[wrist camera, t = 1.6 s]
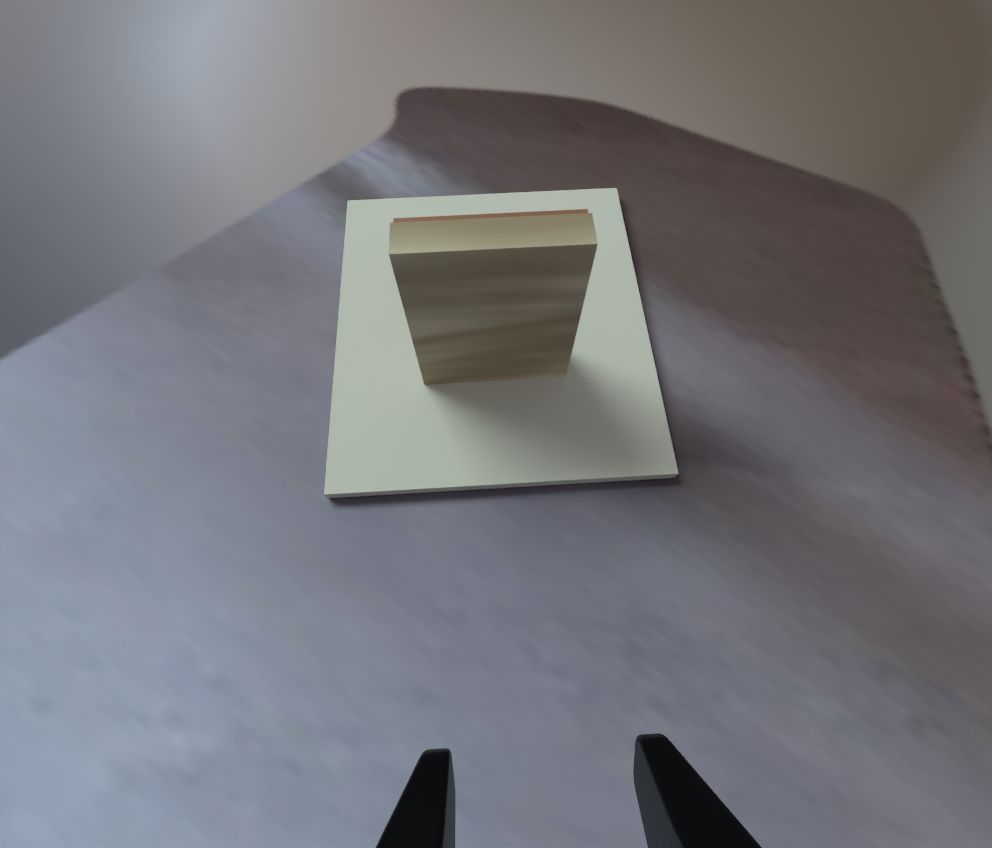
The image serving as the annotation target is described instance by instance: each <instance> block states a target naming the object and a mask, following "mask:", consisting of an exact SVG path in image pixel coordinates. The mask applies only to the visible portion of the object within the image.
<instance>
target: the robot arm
mask: <svg viewBox="0 0 992 848" xmlns="http://www.w3.org/2000/svg"><path fill="white" fill-rule="evenodd" d="M633 774H634V784H635V790H636V794H637V799H638V804H639V808H640V813H641V817H642V822H643V826H644V831H645V836H646V840H647V845H648V848H761V846H760V845H759V844H758V843H757V842H756V841H755V839H754V838H753V837H752V836H751V835H750V834H749V832H748V831H747V830H746V829H745V828H744V827H743V825H742V824H741V823H740V822H739V821H738V820H737V819H736V817H735V816H734V815H733V814H732V813H731V812H730V810H729V809H728V808H727V807H726V806H725V805H724V803H723V802H722V801H721V800H720V799H719V798H718V796H717V795H716V794H715V793H714V792H713V791H712V789H711V788H710V787H709V786H708V785H707V784H706V782H705V781H704V780H703V779H702V778H701V777H700V775H699V774H698V773H697V772H696V771H695V770H694V768H693V767H692V766H691V765H690V764H689V763H688V762H687V760H686V759H685V758H684V757H683V756H682V755H681V753H680V752H679V751H678V750H677V749H676V748H675V746H674V745H673V744H672V743H671V742H670V741H669V739H668V738H667V737H666V736H664V735H662V734H644V735H639V736H638V737H637V738H636V742H635V756H634V772H633ZM376 848H455V783H454V774H453V765H452V756H451V752H450V750H449V749H446V748H443V749H429V750H426V751H424V752H423V753H422V755H421V756H420V758H419V760H418V762H417V764H416V766H415V768H414V771H413V773H412V775H411V777H410V779H409V781H408V783H407V785H406V787H405V789H404V791H403V793H402V795H401V797H400V799H399V801H398V803H397V805H396V807H395V809H394V811H393V813H392V815H391V817H390V820H389V822H388V824H387V826H386V828H385V830H384V832H383V834H382V836H381V838H380V840H379V842H378V844H377V846H376Z"/></svg>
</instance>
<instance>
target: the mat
mask: <svg viewBox="0 0 992 848" xmlns="http://www.w3.org/2000/svg"><path fill="white" fill-rule="evenodd" d="M577 209H588V213H592V215H593V220H594V226H595V231H596V237H597V242H598V245H597V249H596V253H595V258H594V262H593V266H592V270H591V274H590V279H589V283H588V287H587V291H586V295H585V299H584V304H583V308H582V312H581V316H580V320H579V325H578V329H577V333H576V337H575V341H574V345H573V350H572V354H571V358H570V362H569V366H568V370H567V375H566V377H555V378H537V379H519V380H501V381H482V382H464V383H446V384H428V385H424V382H423V378H422V375H421V371H420V367H419V364H418V360H417V356H416V353H415V349H414V345H413V342H412V338H411V334H410V330H409V327H408V323H407V319H406V316H405V312H404V308H403V305H402V301H401V297H400V294H399V290H398V286H397V283H396V279H395V275H394V272H393V268H392V264H391V261H390V257H389V232H390V223H393V218H411V217H432V216H452V215H473V214H494V213H515V212H536V211H556V210H577ZM678 474H679V473H678V469H677V464H676V460H675V455H674V450H673V446H672V441H671V437H670V432H669V427H668V423H667V418H666V414H665V409H664V404H663V400H662V395H661V390H660V386H659V381H658V377H657V372H656V367H655V363H654V358H653V354H652V349H651V344H650V340H649V335H648V331H647V326H646V321H645V317H644V312H643V308H642V303H641V298H640V294H639V289H638V285H637V280H636V275H635V271H634V266H633V262H632V257H631V252H630V248H629V243H628V238H627V234H626V229H625V225H624V220H623V215H622V211H621V206H620V202H619V197H618V192H617V188H605V189H584V190H563V191H542V192H520V193H499V194H478V195H457V196H436V197H415V198H394V199H373V200H351V201H348V204H347V216H346V228H345V241H344V253H343V266H342V278H341V291H340V303H339V316H338V328H337V340H336V353H335V365H334V378H333V390H332V403H331V415H330V427H329V440H328V452H327V465H326V477H325V490H324V495H325V496H326V497H327V498H341V497H358V496H375V495H392V494H409V493H426V492H443V491H460V490H477V489H494V488H511V487H528V486H544V485H561V484H578V483H595V482H612V481H629V480H646V479H663V478H675V477H676V476H677V475H678Z"/></svg>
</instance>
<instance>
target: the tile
mask: <svg viewBox="0 0 992 848" xmlns="http://www.w3.org/2000/svg"><path fill="white" fill-rule="evenodd" d="M597 245H598V242H597V237H596V231H595V226H594V220H593V215H592V213H588V209H577V210H556V211H536V212H515V213H494V214H473V215H452V216H432V217H411V218H393V223H390V232H389V257H390V261H391V264H392V268H393V272H394V275H395V279H396V283H397V286H398V290H399V294H400V297H401V301H402V305H403V308H404V312H405V316H406V319H407V323H408V327H409V330H410V334H411V338H412V342H413V345H414V349H415V353H416V356H417V360H418V364H419V367H420V371H421V375H422V378H423V382H424V385H428V384H446V383H464V382H482V381H501V380H519V379H537V378H555V377H566V375H567V370H568V366H569V362H570V358H571V354H572V350H573V345H574V341H575V337H576V333H577V329H578V325H579V320H580V316H581V312H582V308H583V304H584V299H585V295H586V291H587V287H588V283H589V279H590V274H591V270H592V266H593V262H594V258H595V253H596V249H597Z"/></svg>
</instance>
